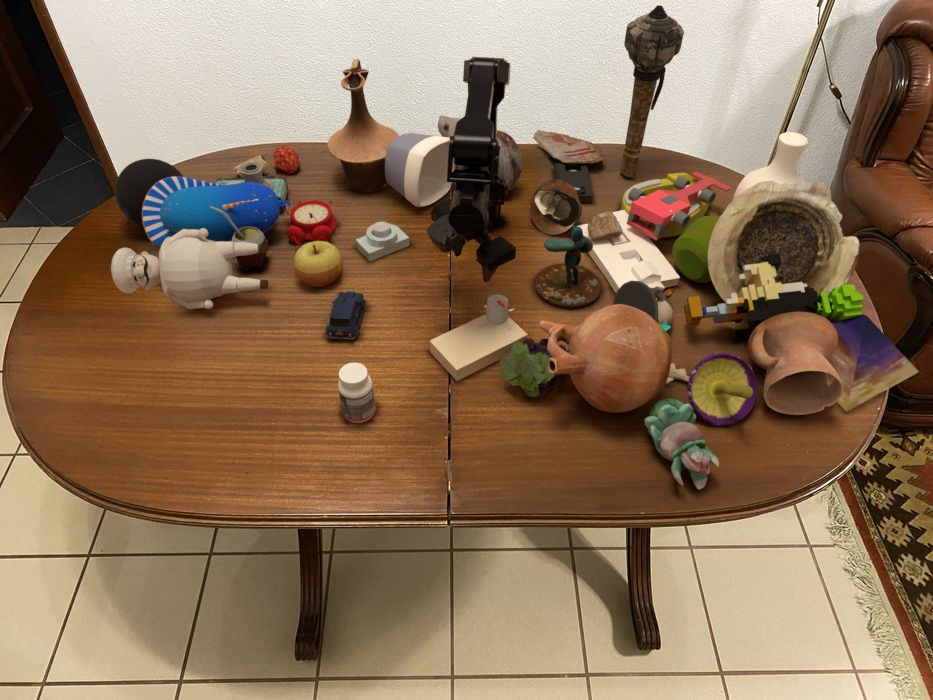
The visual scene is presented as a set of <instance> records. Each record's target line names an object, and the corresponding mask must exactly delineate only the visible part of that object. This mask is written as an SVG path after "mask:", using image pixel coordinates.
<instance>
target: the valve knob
mask: <svg viewBox="0 0 933 700" xmlns="http://www.w3.org/2000/svg"><path fill="white" fill-rule="evenodd" d="M486 306H487V308H486V314H487V320H488V321H489V322H490V323H493V324H502V323H504V322H506V320H507V318H508V316H509V312H508V311H509V299H508V298H507V297H506V296H505V295H502V294H492V295H490V296H489V297H487V300H486Z"/></svg>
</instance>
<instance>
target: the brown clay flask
mask: <svg viewBox="0 0 933 700" xmlns="http://www.w3.org/2000/svg"><path fill="white" fill-rule="evenodd" d="M369 72H370V71H369V69H367V68H362V65H361V61H360V59H359V58H356V59H353V60H352V63H351V66H350V68H346V69H343V70H342V74H343V75H344V77H343V78H342V79H341V80H340V81H341V82H340V85H341V87H342V88H343V89H344V90H346V91H348V92H350V103H351V104H350V114H349V117H348V120H347V122H346V124H345V125H344V126H343V127H342V128H341V129H338V130H337V131H335V132H334V133H333V134H332V135H331V136H330V137H329V139H328V141H327V150H328V152H329V153H330V154H331V155H332V157H334V158H336V159H338V160H339V161H340V163H341V167H342V170H343V173H344V177H345V183H346V185H347V186H348V187H349V188H350V189H351V190H353V191H356V192H360V193H373V192H377V191H380V190H383V189H385V187H387V186H388V185H389V184H388V183H387V182H386V178H385V158H386V152H387V148H388V145H389V144H390V143H391V142H392V141H393V140H394V139H396V138H397V137H399V136H400V134H399V133H398V132H397V131H396V130H395V129H393V128H391V127H389V126H386V125H383V124H382V123H379V122H378V121H376V120H375V119H374V118H373V116H372V115H371V113H370V112H369V109H368V106H367V102H366V97H365V91H364V86H365V84H366V81H367V78H368V76H369Z"/></svg>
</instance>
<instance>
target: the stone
mask: <svg viewBox="0 0 933 700" xmlns="http://www.w3.org/2000/svg"><path fill="white" fill-rule="evenodd" d="M612 212H613V211H610V210H608V211H605V212H603V213H597V214H596V215H593V216H590V217H589V218H588V219H587V222H588V223H587V224H588V233H589V237H590V238H591V240H592V241H598V240H603V239H607V238H614V237H616V238H617V237H619V236H620V235H621V234H622V228H621V226H620V224H619V222H618V221H617V218H616V216H615V215H614V214H613V213H612Z"/></svg>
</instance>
